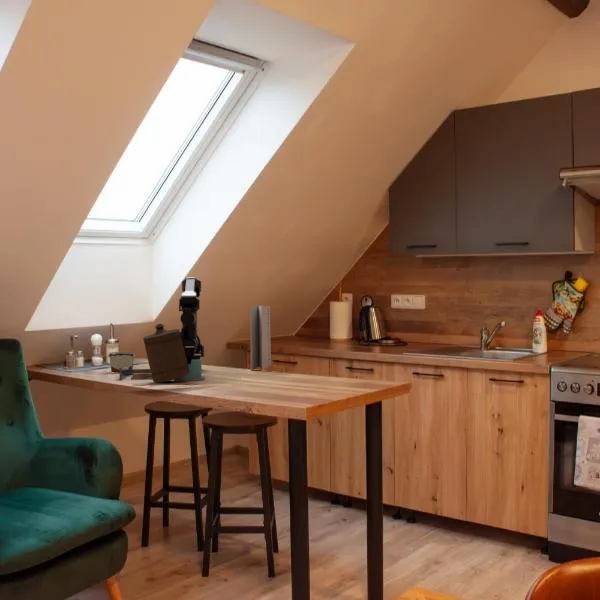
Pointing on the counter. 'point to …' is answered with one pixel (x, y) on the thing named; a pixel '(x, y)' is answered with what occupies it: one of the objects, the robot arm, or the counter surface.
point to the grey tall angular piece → (260, 337)
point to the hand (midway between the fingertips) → (189, 363)
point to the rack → (131, 371)
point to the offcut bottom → (140, 378)
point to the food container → (121, 360)
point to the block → (195, 369)
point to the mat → (190, 378)
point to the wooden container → (166, 355)
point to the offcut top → (142, 375)
